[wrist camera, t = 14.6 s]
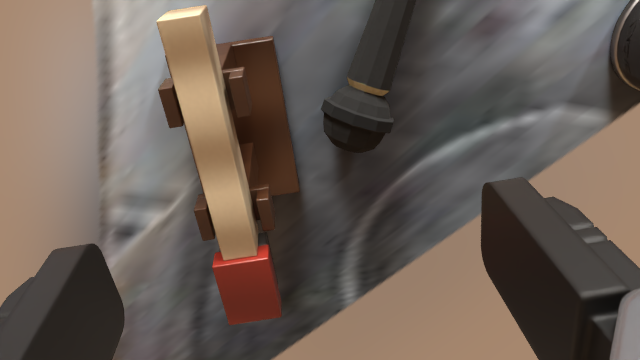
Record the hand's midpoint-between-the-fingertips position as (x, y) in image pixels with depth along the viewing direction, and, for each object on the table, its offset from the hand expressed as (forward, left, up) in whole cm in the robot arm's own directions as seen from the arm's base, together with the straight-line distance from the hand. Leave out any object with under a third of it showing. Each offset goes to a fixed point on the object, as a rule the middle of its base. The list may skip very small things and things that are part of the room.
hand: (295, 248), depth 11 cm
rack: (+5, +8, -30) cm, 32 cm away
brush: (+5, +8, -21) cm, 23 cm away
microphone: (-8, +2, -30) cm, 31 cm away
